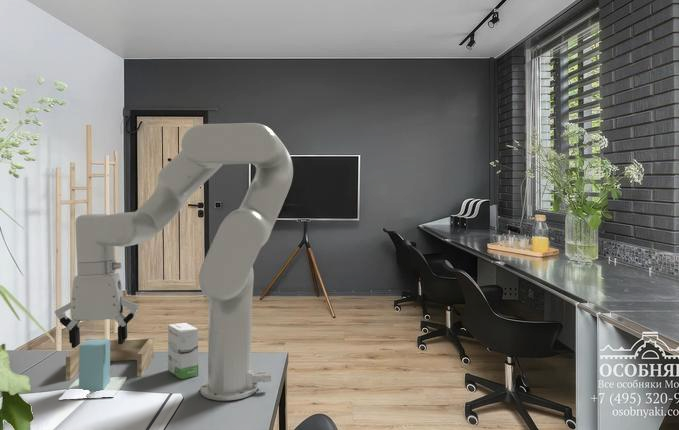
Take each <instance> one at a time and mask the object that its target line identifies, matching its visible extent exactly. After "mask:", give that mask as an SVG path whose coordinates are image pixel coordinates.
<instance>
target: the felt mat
mask: <svg viewBox="0 0 679 430" xmlns="http://www.w3.org/2000/svg"><path fill="white" fill-rule="evenodd" d="M127 380H128V378H127V376H115V377H113V376H112V377H111V376H110V382H109V384H108V385H107V386H106V388H105V389H104V390H116V391H117V390H119V391H120V389H121V388H122V386H124V384H125V382H126V381H127ZM69 389H79V378H76V380H74V382H72V383H71V384H70V385H69V387H68V388H66V390H69ZM99 391H100V390H99ZM94 392H96V391H90V393H89V394H87V395H86V397H87V398H88V397H90V396H92V394H93V393H94Z"/></svg>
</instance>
